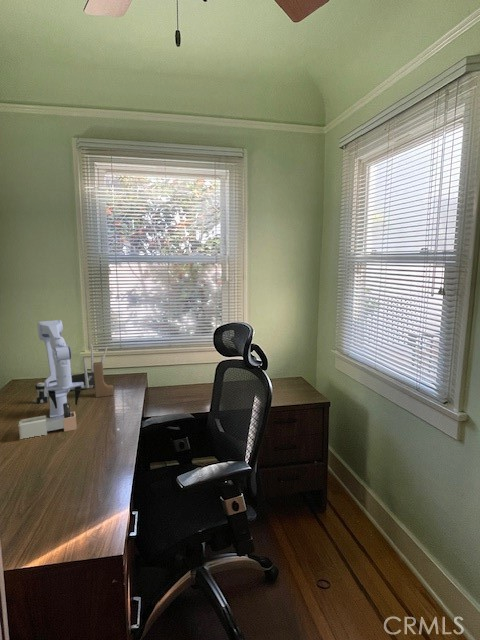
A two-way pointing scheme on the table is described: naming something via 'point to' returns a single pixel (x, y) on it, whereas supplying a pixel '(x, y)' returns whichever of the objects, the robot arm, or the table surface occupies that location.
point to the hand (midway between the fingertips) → (66, 405)
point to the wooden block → (101, 382)
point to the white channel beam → (32, 427)
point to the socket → (70, 422)
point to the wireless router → (87, 377)
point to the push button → (41, 393)
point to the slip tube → (58, 419)
